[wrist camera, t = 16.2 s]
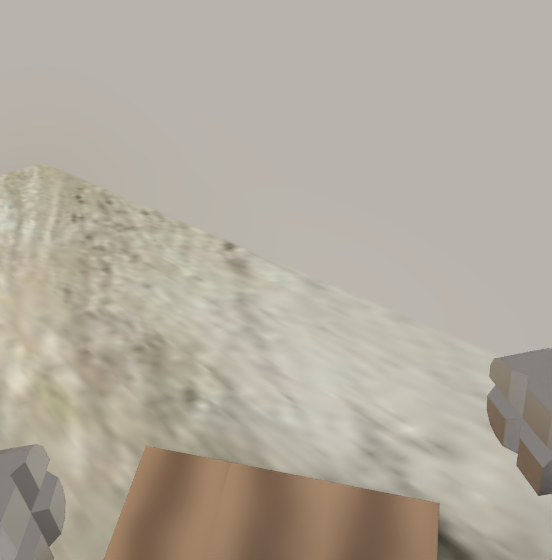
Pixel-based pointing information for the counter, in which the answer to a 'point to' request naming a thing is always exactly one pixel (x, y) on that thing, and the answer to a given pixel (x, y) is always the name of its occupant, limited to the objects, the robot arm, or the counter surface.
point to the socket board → (262, 516)
